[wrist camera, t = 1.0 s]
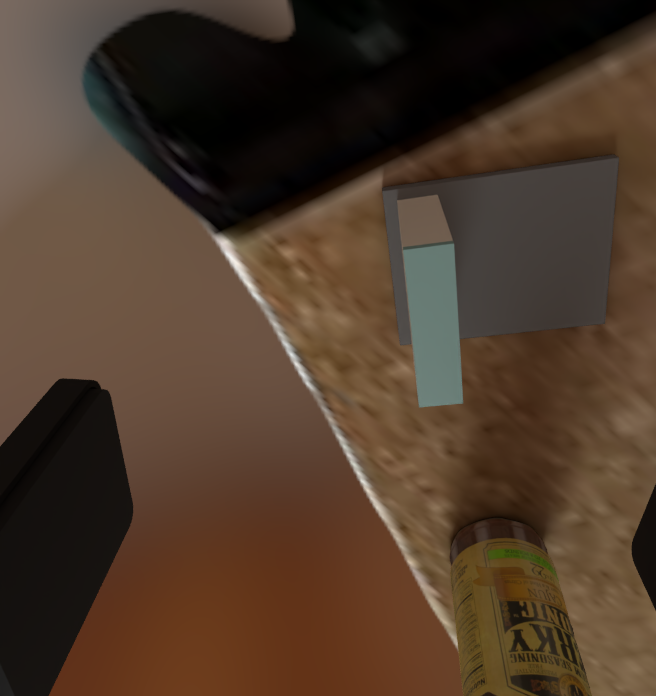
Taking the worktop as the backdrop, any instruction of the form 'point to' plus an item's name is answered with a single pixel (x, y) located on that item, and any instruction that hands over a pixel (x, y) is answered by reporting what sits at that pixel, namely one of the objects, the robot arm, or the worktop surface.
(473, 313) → the rubber mat
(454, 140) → the worktop surface
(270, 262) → the worktop surface
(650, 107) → the worktop surface
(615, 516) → the worktop surface
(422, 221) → the cream tile
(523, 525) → the sauce bottle
